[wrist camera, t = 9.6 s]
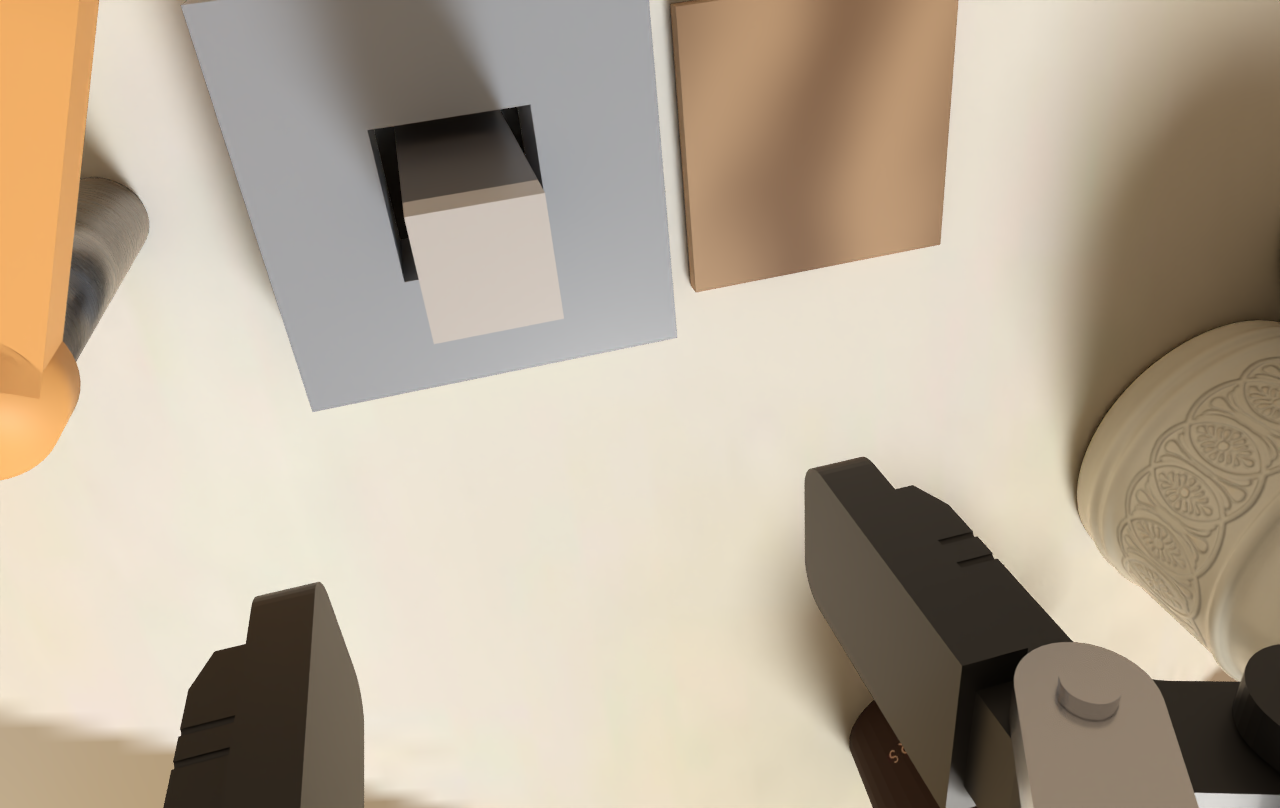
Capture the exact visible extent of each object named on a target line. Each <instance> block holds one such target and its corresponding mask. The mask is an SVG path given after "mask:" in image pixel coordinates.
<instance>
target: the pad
mask: <svg viewBox="0 0 1280 808" xmlns="http://www.w3.org/2000/svg"><path fill="white" fill-rule="evenodd" d="M670 9H671V23H672V36H673V50H674V64H675V77H676V91H677V104H678V118H679V132H680V145H681V159H682V173H683V186H684V200H685V214H686V227H687V241H688V254H689V268H690V282H691V287H692V288H693V289H694V290H695V292H700V291H706V290H711V289H716V288H721V287H726V286H731V285H736V284H741V283H746V282H751V281H757V280H762V279H767V278H772V277H777V276H782V275H787V274H792V273H797V272H802V271H807V270H813V269H818V268H823V267H828V266H833V265H838V264H843V263H848V262H853V261H858V260H864V259H869V258H874V257H879V256H884V255H889V254H894V253H899V252H904V251H909V250H914V249H920V248H925V247H930V246H935V245H940V240H941V227H942V214H943V200H944V187H945V173H946V160H947V146H948V133H949V119H950V106H951V92H952V79H953V65H954V52H955V38H956V25H957V11H958V0H694V1H687V2H680V3H673V4H670Z"/></svg>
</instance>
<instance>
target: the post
mask: <svg viewBox="0 0 1280 808" xmlns="http://www.w3.org/2000/svg"><path fill="white" fill-rule="evenodd" d="M148 233H149V219H148V215H147V212H146V210H145V207H144V206H143V204H142V202H141V201H140V200H139V199H138V197H137V196H136V195H135V194H134V193H133V192H131V191H130V190H129V189H127V188H126V187H124V186H123V185H121V184H119V183H117V182H114V181H111V180H108V179H104V178H83V179H80V183H79V193H78V202H77V211H76V221H75V230H74V239H73V249H72V258H71V267H70V277H69V286H68V295H67V305H66V314H65V324H64V333H63V342H64V343H65V344H66V346H67V347H68V349H69V350H70V352H71V353H72V355H73V357H74V359H75V361H77V359H78V357H79V356H80V354H81V352H82V350H83V349H84V347H85V345H86V343H87V342H88V340H89V338H90V337H91V335H92V333H93V331H94V330H95V328H96V326H97V324H98V323H99V321H100V319H101V317H102V316H103V314H104V312H105V310H106V309H107V307H108V305H109V303H110V302H111V300H112V298H113V297H114V295H115V293H116V291H117V290H118V288H119V286H120V284H121V283H122V281H123V279H124V277H125V276H126V274H127V272H128V270H129V269H130V267H131V265H132V263H133V262H134V260H135V258H136V257H137V255H138V253H139V251H140V250H141V248H142V246H143V244H144V243H145V241H146V239H147V236H148Z"/></svg>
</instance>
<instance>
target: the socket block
mask: <svg viewBox="0 0 1280 808" xmlns="http://www.w3.org/2000/svg"><path fill="white" fill-rule="evenodd" d="M181 8H182V11H183V14H184V17H185V20H186V23H187V26H188V29H189V33H190V36H191V39H192V42H193V45H194V48H195V51H196V54H197V57H198V60H199V63H200V66H201V70H202V73H203V76H204V79H205V82H206V85H207V88H208V91H209V94H210V97H211V100H212V103H213V107H214V110H215V113H216V116H217V119H218V122H219V125H220V128H221V131H222V134H223V137H224V140H225V144H226V147H227V150H228V153H229V156H230V159H231V162H232V165H233V168H234V171H235V174H236V177H237V181H238V184H239V187H240V190H241V193H242V196H243V199H244V202H245V205H246V208H247V211H248V214H249V218H250V221H251V224H252V227H253V230H254V233H255V236H256V239H257V242H258V245H259V248H260V251H261V255H262V258H263V261H264V264H265V267H266V270H267V273H268V276H269V279H270V282H271V285H272V288H273V291H274V295H275V298H276V301H277V304H278V307H279V310H280V313H281V316H282V319H283V322H284V325H285V328H286V332H287V335H288V338H289V341H290V344H291V347H292V350H293V353H294V356H295V359H296V362H297V365H298V369H299V372H300V375H301V378H302V381H303V384H304V387H305V390H306V393H307V396H308V399H309V402H310V406H311V409H312V412H315V411H320V410H325V409H330V408H335V407H340V406H345V405H349V404H354V403H359V402H364V401H369V400H374V399H379V398H384V397H389V396H394V395H399V394H403V393H408V392H413V391H418V390H423V389H428V388H433V387H438V386H443V385H448V384H453V383H457V382H462V381H467V380H472V379H477V378H482V377H487V376H492V375H497V374H502V373H506V372H511V371H516V370H521V369H526V368H531V367H536V366H541V365H546V364H551V363H556V362H560V361H565V360H570V359H575V358H580V357H585V356H590V355H595V354H600V353H605V352H610V351H614V350H619V349H624V348H629V347H634V346H639V345H644V344H649V343H654V342H659V341H664V340H668V339H673V338H677V329H676V317H675V305H674V293H673V281H672V269H671V258H670V246H669V234H668V222H667V210H666V198H665V186H664V174H663V162H662V150H661V139H660V127H659V115H658V103H657V91H656V79H655V67H654V55H653V43H652V32H651V20H650V8H649V0H187V1H185V2H184V3H183V4H182V5H181ZM511 107H517V108H518V115H519V121H520V127H521V133H522V140H523V146H524V152H525V157H526V159H527V161H528V163H529V164H530V166H531V168H532V170H533V172H534V174H535V175H536V177H537V179H538V181H539V183H540V185H541V187H542V188H543V190H544V192H545V196H546V203H547V209H548V216H549V223H550V229H551V236H552V242H553V249H554V255H555V262H556V269H557V275H558V282H559V288H560V295H561V301H562V308H563V315H564V319H560V320H555V321H550V322H545V323H539V324H534V325H529V326H524V327H519V328H514V329H509V330H504V331H499V332H494V333H488V334H483V335H478V336H473V337H468V338H463V339H458V340H453V341H448V342H443V343H438V344H434V342H433V338H432V334H431V330H430V325H429V321H428V317H427V313H426V308H425V304H424V300H423V296H422V291H421V287H420V283H419V279H418V274H417V270H416V266H415V262H414V257H413V253H412V249H411V245H410V240H409V238H406V239H401V240H400V236H399V232H398V227H397V223H396V219H395V215H394V211H393V207H392V203H391V198H390V194H389V190H388V186H387V182H386V178H385V173H384V169H383V165H382V161H381V157H380V153H379V148H378V144H377V140H376V136H375V132H374V129H378V128H385V127H391V126H397V125H404V124H410V123H416V122H423V121H429V120H435V119H442V118H448V117H454V116H461V115H467V114H473V113H480V112H486V111H492V110H499V109H505V108H511Z"/></svg>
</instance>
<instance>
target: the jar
mask: <svg viewBox="0 0 1280 808" xmlns="http://www.w3.org/2000/svg"><path fill="white" fill-rule="evenodd" d="M1077 504H1078V511H1079V516H1080V518H1081V521H1082V524H1083V526H1084V528H1085V530H1086V531H1087V533H1088V534H1089V536H1090V537H1091V538H1092V539H1093V540H1094V542H1095V544H1096V546H1097V548H1098V550H1099V551H1100V553H1101V554H1102V556H1103V557H1104V558H1105V559H1106V561H1107V562H1109V563H1110V564H1111V565H1112V566H1113V567H1115V569H1116V570H1117V571H1118V572H1119V573H1120V574H1121V575H1122V576H1123V577H1124V578H1126V579H1127V580H1129V581H1130V582H1132V583H1133V584H1135V585H1137V586H1139V587H1141V588H1142V589H1143V590H1144V591H1145V592H1146V593H1148V594H1149V595H1150V596H1151V597H1152V598H1153V599H1154V600H1155V601H1156V602H1157V603H1158V604H1159V605H1160V606H1161V607H1163V608H1164V609H1165V610H1166V611H1167V612H1168V613H1169V614H1170V615H1171V616H1172V617H1173V618H1174V619H1175V620H1176V621H1177V622H1179V623H1180V624H1181V625H1182V626H1183V627H1184V628H1185V629H1186V630H1187V631H1188V632H1189V633H1190V634H1191V635H1192V636H1194V637H1195V638H1196V639H1197V640H1198V641H1199V642H1200V643H1201V644H1202V645H1203V646H1204V647H1205V648H1206V649H1207V650H1209V651H1210V652H1211V653H1212V655H1213V657H1214V659H1215V660H1216V662H1217V664H1218V665H1219V666H1220V667H1221V669H1222V670H1223V671H1225V673H1227V674H1228V675H1229V676H1230V677H1232V678H1233V679H1235V680H1236V681H1238V682H1241V679H1242V676H1243V673H1244V670H1245V667H1246V665H1247V663H1248V661H1249V659H1250V658H1251V657H1252V656H1253V655H1254V654H1255V653H1256V652H1258V651H1260V650H1261V649H1263V648H1266V647H1269V646H1272V645H1277V644H1280V322H1275V321H1267V320H1253V321H1244V322H1237V323H1233V324H1229V325H1225V326H1222V327H1219V328H1216V329H1213V330H1210V331H1208V332H1205V333H1203V334H1201V335H1199V336H1197V337H1194V338H1193V339H1191V340H1189V341H1187V342H1185V343H1183V344H1182V345H1180V346H1178V347H1177V348H1175V349H1173V350H1172V351H1171V352H1169V353H1168V354H1166V355H1165V356H1163V357H1162V358H1161V359H1159V360H1158V361H1157V362H1155V363H1154V364H1153V365H1152V366H1150V367H1149V368H1148V369H1147V370H1146V371H1144V372H1143V373H1142V374H1141V375H1140V376H1139V377H1138V378H1137V379H1136V380H1135V381H1134V382H1133V383H1132V384H1131V385H1130V386H1129V387H1128V388H1127V389H1126V390H1125V391H1124V393H1123V394H1122V395H1121V396H1120V397H1119V398H1118V400H1117V401H1116V402H1115V403H1114V405H1113V406H1112V407H1111V408H1110V410H1109V411H1108V413H1107V414H1106V415H1105V417H1104V419H1103V420H1102V422H1101V423H1100V425H1099V427H1098V428H1097V430H1096V432H1095V434H1094V436H1093V438H1092V440H1091V442H1090V444H1089V446H1088V448H1087V451H1086V453H1085V456H1084V459H1083V462H1082V465H1081V469H1080V473H1079V479H1078V486H1077Z"/></svg>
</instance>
